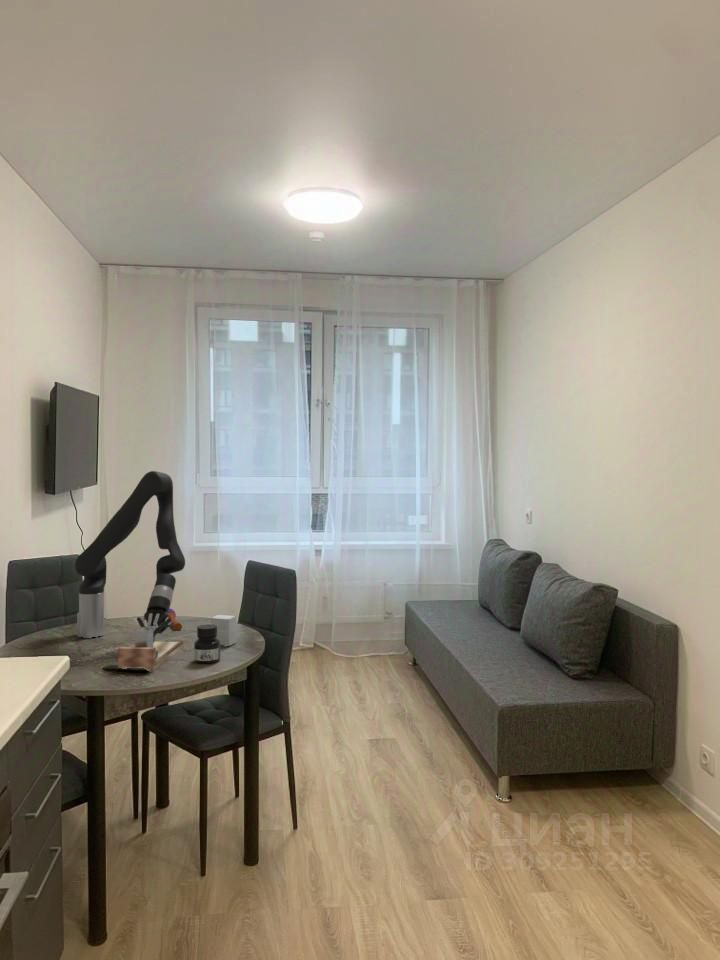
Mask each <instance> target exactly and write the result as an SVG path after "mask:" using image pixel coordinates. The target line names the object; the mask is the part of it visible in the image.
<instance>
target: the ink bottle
mask: <svg viewBox="0 0 720 960" xmlns="http://www.w3.org/2000/svg"><path fill="white" fill-rule="evenodd" d="M196 637H197V639H196V640H195V641H194V643H193V647H194V648H193V652H194V653H193V661H194V662H195V663H197V664H201V665H202V664H203V665H207V664H215V663H217V662H219V661H220V660H221V646H220V641H219V640H218V639H217V638H216V637H217V626H216V625H211V623H208V624H207V623H206V624H201V625H198V626H197V628H196Z"/></svg>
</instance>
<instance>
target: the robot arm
mask: <svg viewBox="0 0 720 960" xmlns="http://www.w3.org/2000/svg"><path fill="white" fill-rule="evenodd" d="M154 496H155V497H156V499H157V504H158V513H157V519H156V522H155V523H156V524H155V531H156V532H155V533H156V540H157V545H158V548H159V549H160V550H167V551H168V552H169V554H167V555H163V556H161V557H159V559H158V560H157V562H156V565H155V566H156V568H155V569H156V573H155V574H156V580H155V582H154V583H155V584H154V587H153V588H152V591H151V594H150V598H149V601H148V604H147V607H146V612H145V613H144V614H143V616H142V617H137V618H136V621H137V623H138V624H139V626H140V628H141V627H153V642H154V641H155V639H156V635H158V634H162V633H164V632H165V631H167V629H168V628H170V627H171V626H173V625H172V623H173V622H172V620H171V618H168V612H169V608H170V609H171V605H172V602H173V595H174V592H175V591H174V590H175V587H176V580H177V579H176V577H175V576H174V575H173V573H177V572H180V571H183V569H185V566H186V559H185V556H184V554H183V552H182V549H181V547H180V544H179V543H178V540H177V533H176V528H175V518H174V482H173V479H172V477H171V476H170V475H169V474H167V473H164V472H160V471H155V470H151V471H148V472H146V473H145V474H144V475H143V476H142V477H141V479H140V480H139V482H138V483H137V485H136V487H135V488H134V490H133V491H132V493H131V494H130V495H129V497H128V498H127V499H126V501H125V502H124V503H123V504H122V505H121V507H120V508H119V509H118V511H116V513H115V514H114V515H113V516H112V517H111V518H110V520H109V521H108V522H107V524H106V525H105V526H104V528H103V529H102V530H101V531H100V532H99V534H98V535H97V536H96V538H95V539H94V540H93V542H91V543H90V545H89V546H88V547H87V548H86V549H85V550H83V551H82V552H81V553H80V554H79V555H78V556H77V558H76V560H75V562H74V570H75V573H77V574H78V575H79V576H80V577H81V576H82V577H83V580H82V582H81V584H80V585H79V587H78V602H79V603H78V605H79V606H78V608H79V609H78V610H79V611H78V612H77V613H76V625H77V626H76V629H77V630H76V632H77V633H76V637H77V636H78V637H77V638H81V637H83V638H84V639H93V638H92V637H96V638H99V637H98V636H101V637H103V636H105V586H106V584H107V583H106V582H107V565H108V564H107V559H106V556H107V555H108V554H109V553H110V552H111V551H112V550H114V549H115V548H116V547H117V546H119V545H120V544H121V543H122V542H124V541H125V540H126V539H127V538H128V537H129V536H130V535H131V533H132V532H133V531H134V530H135V529H136V528H137V526H138V524H139V522H140V519H141V516H142V513H143V509H144V507H145V506H146V504H148V502H149V501H150V500H151V499H152V498H153V497H154ZM145 623H146V625H147V626H145ZM102 635H103V636H102ZM83 638H82V639H83Z"/></svg>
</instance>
